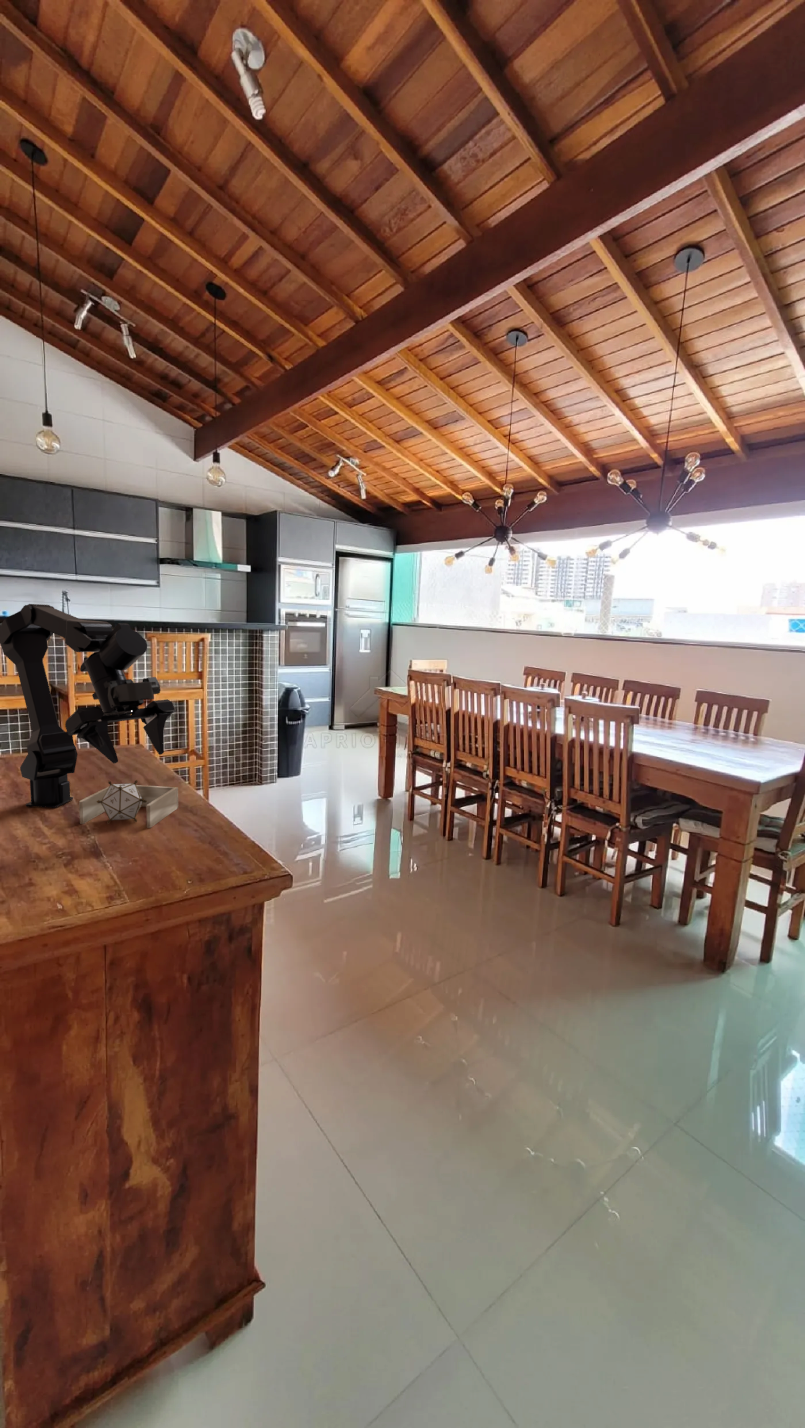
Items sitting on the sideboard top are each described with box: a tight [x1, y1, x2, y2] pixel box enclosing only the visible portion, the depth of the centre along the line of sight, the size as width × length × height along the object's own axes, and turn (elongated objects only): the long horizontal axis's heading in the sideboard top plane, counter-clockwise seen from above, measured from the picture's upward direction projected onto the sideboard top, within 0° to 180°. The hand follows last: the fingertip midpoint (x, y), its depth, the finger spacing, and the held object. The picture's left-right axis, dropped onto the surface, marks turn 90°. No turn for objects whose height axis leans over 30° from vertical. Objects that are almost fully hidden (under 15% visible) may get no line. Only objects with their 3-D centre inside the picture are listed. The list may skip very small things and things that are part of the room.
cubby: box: [78, 784, 179, 829], centre depth 119 cm, size 14×13×4 cm
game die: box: [97, 779, 147, 825], centre depth 115 cm, size 9×8×10 cm
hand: (139, 758), depth 106 cm, fingers open, 9 cm apart
